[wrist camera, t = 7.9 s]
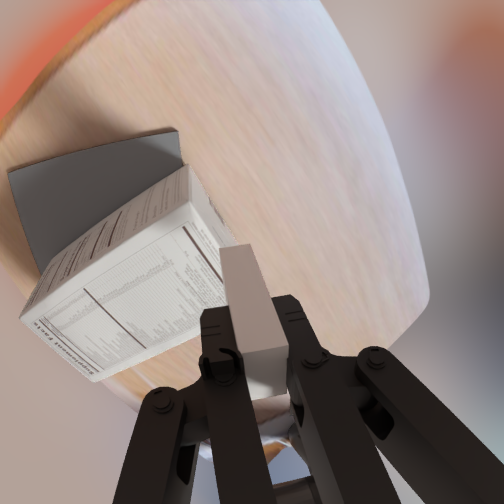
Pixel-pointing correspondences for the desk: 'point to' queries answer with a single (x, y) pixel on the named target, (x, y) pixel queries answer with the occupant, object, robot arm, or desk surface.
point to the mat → (87, 188)
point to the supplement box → (134, 280)
